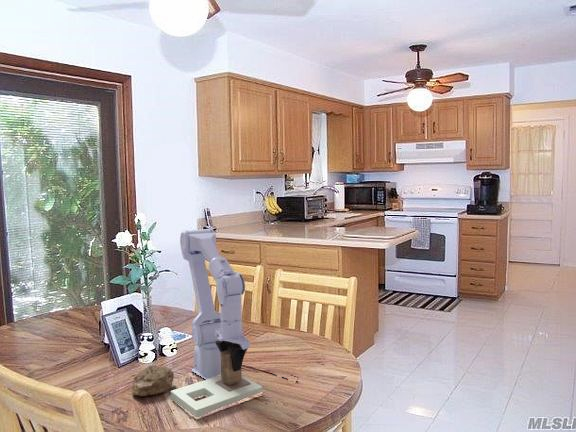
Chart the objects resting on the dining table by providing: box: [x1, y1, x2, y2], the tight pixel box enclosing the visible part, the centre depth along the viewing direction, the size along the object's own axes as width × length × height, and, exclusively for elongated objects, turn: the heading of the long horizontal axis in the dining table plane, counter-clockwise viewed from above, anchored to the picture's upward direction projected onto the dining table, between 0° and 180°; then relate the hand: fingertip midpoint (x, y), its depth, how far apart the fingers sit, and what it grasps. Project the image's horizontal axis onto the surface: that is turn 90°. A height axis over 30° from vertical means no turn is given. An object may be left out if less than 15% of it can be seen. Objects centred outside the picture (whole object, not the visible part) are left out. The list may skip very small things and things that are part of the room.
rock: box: [131, 364, 175, 397], centre depth 134 cm, size 13×11×5 cm
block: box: [220, 350, 243, 385], centre depth 131 cm, size 4×4×8 cm
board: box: [170, 375, 264, 417], centre depth 128 cm, size 14×20×3 cm
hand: (232, 367), depth 131 cm, fingers closed on block, 4 cm apart
